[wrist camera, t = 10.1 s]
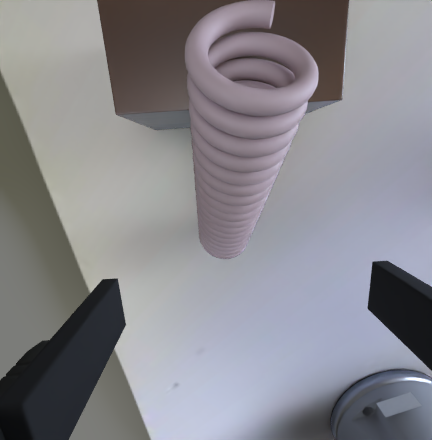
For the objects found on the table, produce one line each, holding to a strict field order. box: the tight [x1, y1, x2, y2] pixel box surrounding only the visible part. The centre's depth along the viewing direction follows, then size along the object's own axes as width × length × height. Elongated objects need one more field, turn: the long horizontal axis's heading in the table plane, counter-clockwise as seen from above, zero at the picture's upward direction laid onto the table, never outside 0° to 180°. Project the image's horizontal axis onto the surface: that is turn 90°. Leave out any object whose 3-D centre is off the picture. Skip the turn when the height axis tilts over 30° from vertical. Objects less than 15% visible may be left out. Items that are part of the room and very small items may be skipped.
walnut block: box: [97, 0, 349, 130], centre depth 17 cm, size 7×12×10 cm, turn 94°
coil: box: [185, 0, 319, 259], centre depth 16 cm, size 5×5×18 cm
